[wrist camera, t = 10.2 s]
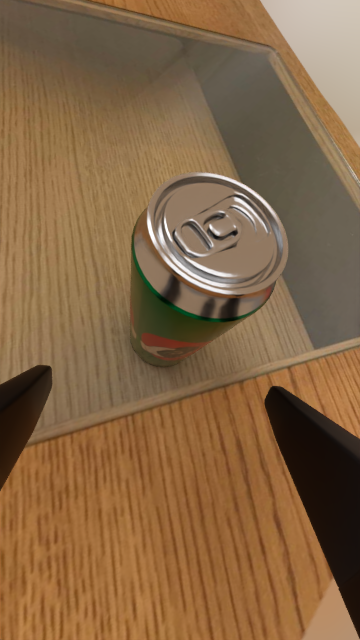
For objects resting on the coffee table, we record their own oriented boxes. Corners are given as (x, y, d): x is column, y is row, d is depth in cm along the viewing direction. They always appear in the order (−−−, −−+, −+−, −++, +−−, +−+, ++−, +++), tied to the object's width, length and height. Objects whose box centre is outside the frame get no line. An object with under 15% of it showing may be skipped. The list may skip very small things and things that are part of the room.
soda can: (204, 345, 18) (330, 261, 7) (152, 381, 16) (205, 345, 5) (170, 296, 18) (233, 148, 7) (117, 324, 17) (95, 183, 6)
